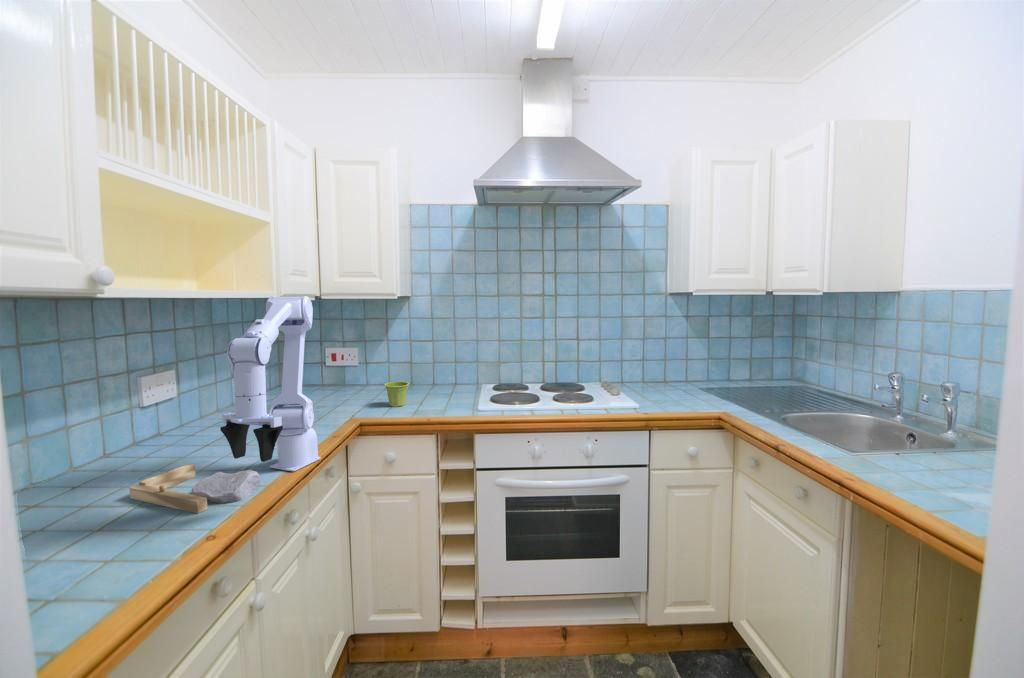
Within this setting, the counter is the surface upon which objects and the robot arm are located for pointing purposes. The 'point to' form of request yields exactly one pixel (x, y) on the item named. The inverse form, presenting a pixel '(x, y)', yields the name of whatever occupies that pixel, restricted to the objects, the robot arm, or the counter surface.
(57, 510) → the counter surface
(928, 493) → the counter surface
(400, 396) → the plant pot
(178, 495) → the fence
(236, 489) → the stone block
